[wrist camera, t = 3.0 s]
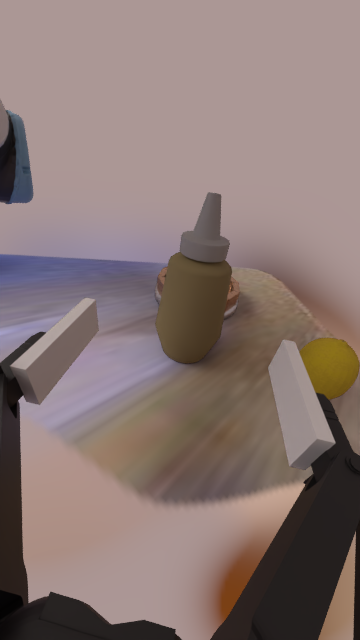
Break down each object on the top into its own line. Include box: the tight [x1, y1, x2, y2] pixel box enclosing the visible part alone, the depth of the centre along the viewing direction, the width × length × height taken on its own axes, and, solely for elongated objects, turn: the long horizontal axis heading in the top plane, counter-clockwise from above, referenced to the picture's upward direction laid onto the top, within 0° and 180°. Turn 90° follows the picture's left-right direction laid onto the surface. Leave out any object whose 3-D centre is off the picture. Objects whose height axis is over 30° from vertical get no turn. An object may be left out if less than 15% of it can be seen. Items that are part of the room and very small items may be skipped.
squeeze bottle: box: [156, 193, 232, 363], centre depth 24 cm, size 8×8×18 cm
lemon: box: [299, 338, 360, 399], centre depth 23 cm, size 6×6×8 cm
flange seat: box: [155, 267, 240, 320], centre depth 39 cm, size 15×15×4 cm
